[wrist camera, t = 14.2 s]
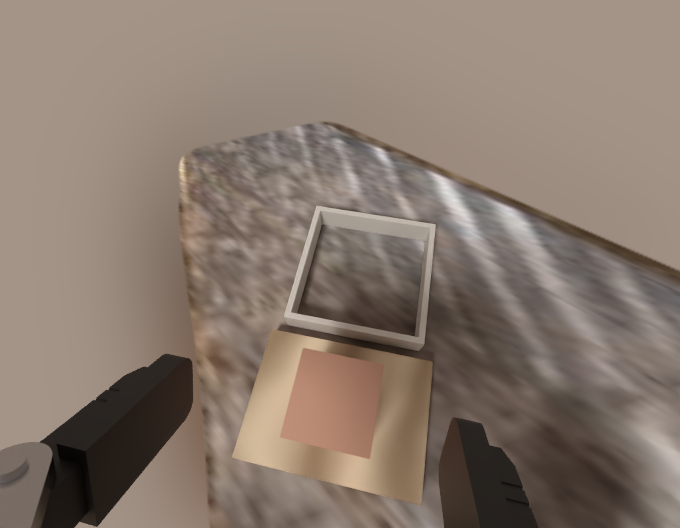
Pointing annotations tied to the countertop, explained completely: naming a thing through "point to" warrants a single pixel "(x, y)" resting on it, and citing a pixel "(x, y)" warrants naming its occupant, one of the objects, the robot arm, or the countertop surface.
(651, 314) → the countertop surface
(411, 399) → the maple board
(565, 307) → the countertop surface
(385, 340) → the square frame
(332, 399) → the terracotta block
